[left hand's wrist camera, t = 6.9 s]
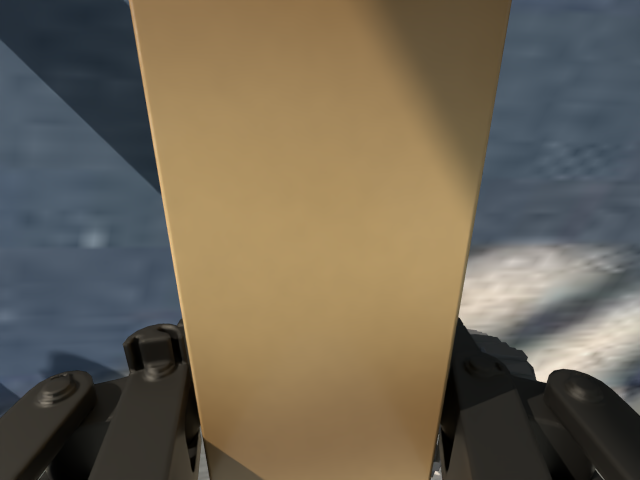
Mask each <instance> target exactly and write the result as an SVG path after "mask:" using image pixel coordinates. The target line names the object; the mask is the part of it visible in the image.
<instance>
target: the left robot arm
mask: <svg viewBox="0 0 640 480" xmlns="http://www.w3.org/2000/svg"><path fill="white" fill-rule="evenodd" d="M123 347H124V351H125V355H126V359H127V363H128V367H129V371H130V374H129V376H127V377H124V378H120V379H116V380H112V381H107V382H103V383H98V384H94V383H93V379H92V376H91V375H89V374H88V373H87V372H84V371H78V370H76V371H68V372H63V373H60V374H57V375H54V376H51V377H50V378H48V379H46V380H44V381H42V382H40V383H38V384H37V385H36V386H35V387H33V388H32V389H31V390H29V391H28V392H27V393H26V394H25V395H24V396H23V397H22V398H21V399H20V400H19V401H18V402H17V403H16V404H15V405H14V406H12V407H11V408H10V409H9V410H8V411H7V412H6V413H5V414H4V415H3V416H2V417H1V418H0V480H38V478H39V477H40V476H41V474H42V473H43V472H44V471H45V470H46V471H45V472H44V474H43V475H42V476H41V478H40V479H39V480H198V472H199V462H200V451H201V434H200V428H199V427H200V425H201V424H200V418H199V412H198V406H197V400H196V394H195V389H194V383H193V377H192V371H191V365H190V359H189V353H188V347H187V341H186V335H185V329H184V323H183V317H182V319H181V320H180V321H179V323H178V324H177V326H176V325H173V324H157V325H152V326H148V327H145V328H143V329H141V330H138V331H136V332H135V333H134V334H132V335H131V336H129V337H128V338H127V339H126V341H125V342H124V343H123ZM440 425H441V428H440V434H439V440H438V446H437V452H436V458H435V462H438V463H439V462H440V461H441V471H442V480H603V479H602V478H601V477H600V475H599V474H598V473H597V471H596V470H595V469H597V470H598V472H599V473H600V474H601V475H602V477H603V478H604V479H605V480H640V415H638V414H637V413H636V412H635V411H634V410H633V409H632V408H631V407H630V406H629V405H628V404H627V403H626V402H625V401H624V400H623V399H622V398H621V397H620V396H619V395H618V394H616V393H615V392H614V391H613V390H612V389H611V388H610V387H608V386H607V385H606V384H604V383H603V382H602V381H600V380H598V379H596V378H594V377H592V376H590V375H588V374H585V373H582V372H579V371H576V370H568V369H560V370H554V371H553V372H552V373H551V374H550V375H549V377H548V380H547V383H544V382H539V381H535V380H530V379H526V378H521V377H518V376H515V375H511V373H510V371H509V370H508V368H507V367H506V365H505V364H504V363H502V362H501V361H500V360H499V359H497V358H496V357H494V356H491V355H489V354H487V353H484V352H482V351H481V350H480V348H479V347H478V345H477V344H476V342H475V341H474V339H473V338H472V336H471V335H470V333H469V332H468V330H467V329H466V327H465V326H463V323H462V321H461V320H460V318H458V320H457V326H456V332H455V338H454V344H453V350H452V356H451V362H450V368H449V374H448V379H447V385H446V391H445V397H444V403H443V409H442V415H441V421H440Z"/></svg>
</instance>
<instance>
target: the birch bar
mask: <svg viewBox="0 0 640 480" xmlns="http://www.w3.org/2000/svg"><path fill="white" fill-rule="evenodd" d="M511 2H512V0H129V4H130V10H131V15H132V21H133V27H134V33H135V39H136V45H137V51H138V57H139V63H140V69H141V75H142V81H143V87H144V92H145V98H146V104H147V110H148V116H149V122H150V128H151V134H152V140H153V146H154V152H155V158H156V164H157V169H158V175H159V181H160V187H161V193H162V199H163V205H164V211H165V217H166V223H167V229H168V235H169V240H170V246H171V252H172V258H173V264H174V270H175V276H176V282H177V288H178V294H179V300H180V306H181V312H182V317H183V323H184V329H185V335H186V341H187V347H188V353H189V359H190V365H191V371H192V377H193V383H194V389H195V394H196V400H197V406H198V412H199V418H200V424H201V430H202V436H203V442H204V448H205V454H206V460H207V465H208V471H209V477H210V480H431V474H432V468H433V462H434V456H435V450H436V444H437V438H438V433H439V427H440V421H441V415H442V409H443V403H444V397H445V391H446V385H447V379H448V374H449V368H450V362H451V356H452V350H453V344H454V338H455V332H456V326H457V320H458V315H459V309H460V303H461V297H462V291H463V285H464V279H465V273H466V267H467V261H468V256H469V250H470V244H471V238H472V232H473V226H474V220H475V214H476V208H477V202H478V196H479V191H480V185H481V179H482V173H483V167H484V161H485V155H486V149H487V143H488V137H489V132H490V126H491V120H492V114H493V108H494V102H495V96H496V90H497V84H498V78H499V73H500V67H501V61H502V55H503V49H504V43H505V37H506V31H507V25H508V19H509V14H510V8H511Z"/></svg>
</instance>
